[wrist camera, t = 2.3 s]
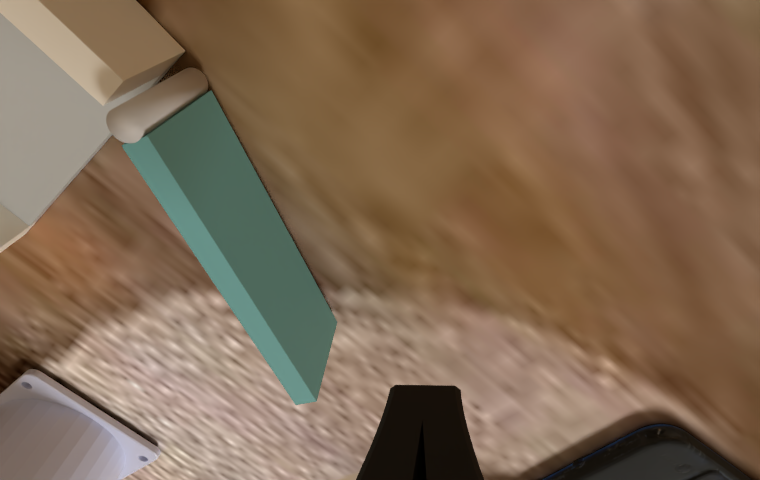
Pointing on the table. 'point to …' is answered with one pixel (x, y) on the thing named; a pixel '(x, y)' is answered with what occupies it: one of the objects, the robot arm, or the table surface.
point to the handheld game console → (652, 459)
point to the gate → (229, 224)
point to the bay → (66, 92)
